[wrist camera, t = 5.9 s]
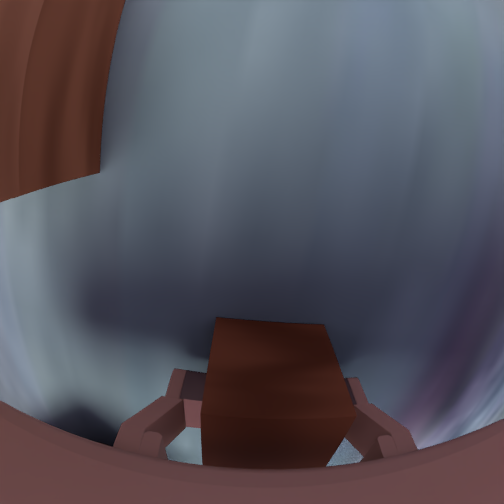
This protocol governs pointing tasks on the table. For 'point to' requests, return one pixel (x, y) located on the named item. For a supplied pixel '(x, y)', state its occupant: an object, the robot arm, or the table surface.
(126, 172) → the table surface
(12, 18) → the tower top
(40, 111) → the block
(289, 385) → the walnut block
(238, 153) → the table surface
